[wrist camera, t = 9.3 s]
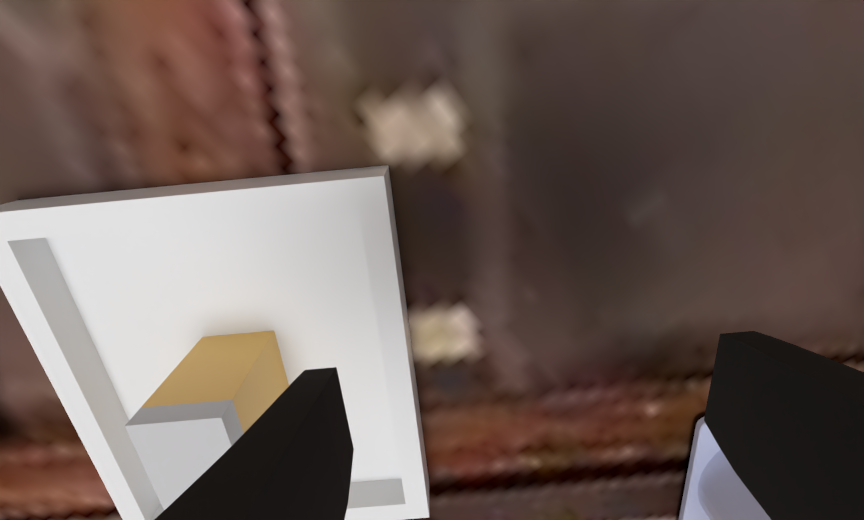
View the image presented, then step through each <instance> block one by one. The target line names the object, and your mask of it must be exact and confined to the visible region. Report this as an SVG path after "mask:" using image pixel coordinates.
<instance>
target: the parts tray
mask: <svg viewBox="0 0 864 520" xmlns="http://www.w3.org/2000/svg"><path fill="white" fill-rule="evenodd" d="M0 286H1V288H2V290H3V292H4V294H5V295H6V297H7V299H8V301H9V303H10V305H11V307H12V309H13V311H14V313H15V315H16V316H17V318H18V320H19V322H20V324H21V326H22V328H23V330H24V332H25V334H26V336H27V338H28V339H29V341H30V343H31V345H32V347H33V349H34V351H35V353H36V355H37V357H38V359H39V360H40V362H41V364H42V366H43V368H44V370H45V372H46V374H47V376H48V378H49V380H50V381H51V383H52V385H53V387H54V389H55V391H56V393H57V395H58V397H59V399H60V401H61V402H62V404H63V406H64V408H65V410H66V412H67V414H68V416H69V418H70V420H71V422H72V423H73V425H74V427H75V429H76V431H77V433H78V435H79V437H80V439H81V441H82V443H83V444H84V446H85V448H86V450H87V452H88V454H89V456H90V458H91V460H92V462H93V464H94V465H95V467H96V469H97V471H98V473H99V475H100V477H101V479H102V481H103V483H104V485H105V486H106V488H107V490H108V492H109V494H110V496H111V498H112V500H113V502H114V504H115V506H116V507H117V509H118V511H119V513H120V515H121V517H122V519H123V520H154V519H155V518H156V517H158V516H159V515H160V514H161V513H162V512H163V511H164V509H163V507H162V505H161V503H160V500H159V498H158V496H157V494H156V492H155V490H154V488H153V485H152V483H151V481H150V479H149V477H148V475H147V473H146V470H145V468H144V466H143V464H142V462H141V460H140V458H139V455H138V453H137V451H136V449H135V447H134V445H133V443H132V441H131V438H130V436H129V434H128V432H127V430H126V428H125V425H126V424H127V423H128V422H129V420H130V419H131V418H132V417H133V416H134V415H135V414H136V412H137V411H138V410H139V409H140V408H141V407H142V406H143V404H144V403H145V402H146V401H147V400H148V399H149V397H150V396H151V395H152V394H153V393H154V392H155V391H156V389H157V388H158V387H159V386H160V385H161V384H162V383H163V381H164V380H165V379H166V378H167V377H168V376H169V375H170V373H171V372H172V371H173V370H174V369H175V368H176V367H177V365H178V364H179V363H180V362H181V361H182V360H183V359H184V357H185V356H186V355H187V354H188V353H189V352H190V351H191V349H192V348H193V347H194V346H195V345H196V344H197V342H198V341H199V340H200V339H201V338H202V337H207V336H218V335H229V334H240V333H252V332H263V331H274V332H275V335H276V339H277V343H278V347H279V350H280V354H281V358H282V361H283V365H284V369H285V373H286V376H287V380H288V384H289V385H290V384H291V383H292V382H293V381H294V380H295V379H296V378H297V377H298V376H299V375H300V374H301V373H302V372H303V371H304V370H309V369H321V368H333V367H336V368H337V372H338V377H339V382H340V386H341V391H342V396H343V401H344V405H345V410H346V415H347V420H348V424H349V429H350V434H351V439H352V443H353V448H354V452H353V462H352V472H351V481H350V490H349V498H348V505H347V510H346V515H345V520H403V519H416V518H428V517H429V477H428V470H427V462H426V454H425V446H424V438H423V431H422V423H421V415H420V407H419V399H418V392H417V384H416V376H415V368H414V360H413V353H412V345H411V337H410V329H409V321H408V313H407V306H406V298H405V290H404V282H403V274H402V267H401V259H400V251H399V243H398V235H397V228H396V220H395V212H394V204H393V196H392V189H391V181H390V173H389V165H384V166H374V167H363V168H353V169H342V170H331V171H321V172H310V173H300V174H289V175H279V176H268V177H258V178H247V179H236V180H226V181H215V182H205V183H194V184H184V185H173V186H163V187H152V188H141V189H131V190H120V191H110V192H99V193H89V194H78V195H68V196H57V197H47V198H36V199H25V200H16V201H12V202H9V203H5V204H2V205H0Z"/></svg>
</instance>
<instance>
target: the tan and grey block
mask: <svg viewBox="0 0 864 520" xmlns="http://www.w3.org/2000/svg"><path fill="white" fill-rule="evenodd" d="M288 386H289V384H288V380H287V376H286V373H285V369H284V365H283V361H282V358H281V354H280V350H279V347H278V343H277V339H276V335H275V332H274V331H263V332H252V333H240V334H229V335H218V336H207V337H202V338H201V339H200V340H199V341H198V342H197V344H196V345H195V346H194V347H193V348H192V349H191V351H190V352H189V353H188V354H187V355H186V356H185V357H184V359H183V360H182V361H181V362H180V363H179V364H178V365H177V367H176V368H175V369H174V370H173V371H172V372H171V373H170V375H169V376H168V377H167V378H166V379H165V380H164V381H163V383H162V384H161V385H160V386H159V387H158V388H157V389H156V391H155V392H154V393H153V394H152V395H151V396H150V397H149V399H148V400H147V401H146V402H145V403H144V404H143V406H142V407H141V408H140V409H139V410H138V411H137V412H136V414H135V415H134V416H133V417H132V418H131V419H130V420H129V422H128V423H127V424H126V425H125V428H126V430H127V432H128V434H129V436H130V438H131V441H132V443H133V445H134V447H135V449H136V451H137V453H138V455H139V458H140V460H141V462H142V464H143V466H144V468H145V470H146V473H147V475H148V477H149V479H150V481H151V483H152V485H153V488H154V490H155V492H156V494H157V496H158V498H159V500H160V503H161V505H162V507H163V509H164V510H165V509H167V508H168V507H169V506H170V505H171V504H172V503H173V502H174V501H175V500H176V499H177V498H178V497H179V496H180V495H181V494H182V493H183V492H184V491H185V490H187V489H188V488H189V487H190V486H191V485H192V484H193V483H194V482H195V481H196V480H197V479H198V478H199V477H200V476H201V475H202V474H203V473H204V472H205V471H206V470H208V469H209V468H210V467H211V466H212V465H213V464H214V463H215V462H216V461H217V460H218V459H219V458H220V457H221V456H222V455H223V454H224V453H225V452H226V451H227V450H228V449H229V448H230V447H231V446H232V445H233V444H234V443H235V442H236V441H237V440H238V439H239V438H240V437H241V436H242V435H243V434H244V433H245V432H246V431H247V430H248V429H249V428H250V427H251V426H252V424H253V423H254V422H255V421H256V420H257V419H258V418H259V417H260V416H261V415H262V414H263V413H264V412H265V411H266V410H267V409H268V408H269V407H270V406H271V405H272V404H273V402H274V401H275V400H276V399H277V398H278V397H279V396H280V395H281V394H282V393H283V392H284V391H285V390H286V389H287V388H288Z"/></svg>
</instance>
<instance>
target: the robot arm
mask: <svg viewBox="0 0 864 520" xmlns="http://www.w3.org/2000/svg"><path fill="white" fill-rule="evenodd" d="M353 452H354V448H353V443H352V439H351V434H350V429H349V424H348V420H347V415H346V410H345V405H344V401H343V396H342V391H341V386H340V382H339V377H338V372H337V368H336V367H333V368H321V369H309V370H304V371H303V372H302V373H301V374H300V375H299V376H298V377H297V378H296V379H295V380H294V381H293V382H292V383H291V384H290V385H289V386H288V388H287V389H286V390H285V391H284V392H283V393H282V394H281V395H280V396H279V397H278V398H277V399H276V400H275V401H274V402H273V404H272V405H271V406H270V407H269V408H268V409H267V410H266V411H265V412H264V413H263V414H262V415H261V416H260V417H259V418H258V419H257V420H256V421H255V422H254V423H253V424H252V426H251V427H250V428H249V429H248V430H247V431H246V432H245V433H244V434H243V435H242V436H241V437H240V438H239V439H238V440H237V441H236V442H235V443H234V444H233V445H232V446H231V447H230V448H229V449H228V450H227V451H226V452H225V453H224V454H223V455H222V456H221V457H220V458H219V459H218V460H217V461H216V462H215V463H214V464H213V465H212V466H211V467H210V468H209V469H208V470H206V471H205V472H204V473H203V474H202V475H201V476H200V477H199V478H198V479H197V480H196V481H195V482H194V483H193V484H192V485H191V486H190V487H189V488H188V489H187V490H185V491H184V492H183V493H182V494H181V495H180V496H179V497H178V498H177V499H176V500H175V501H174V502H173V503H172V504H171V505H170V506H169V507H168V508H167V509H165V510H164V511H163V512H162V513H161V514H160V515H159V516H158V517H156V518H155V519H154V520H345V515H346V510H347V505H348V498H349V490H350V481H351V472H352V462H353ZM679 520H864V372H861V371H859V370H856V369H854V368H851V367H849V366H846V365H844V364H841V363H839V362H836V361H834V360H831V359H829V358H826V357H824V356H821V355H819V354H816V353H814V352H811V351H808V350H806V349H803V348H801V347H798V346H795V345H793V344H790V343H787V342H785V341H782V340H779V339H776V338H773V337H771V336H768V335H764V334H761V333H758V332H755V331H749V332H738V333H726V334H720V338H719V343H718V349H717V354H716V359H715V364H714V370H713V375H712V380H711V385H710V391H709V396H708V401H707V406H706V411H705V417H702V418H701V419H699V420H698V421H697V424H696V427H695V433H694V438H693V444H692V449H691V455H690V460H689V466H688V471H687V476H686V482H685V487H684V493H683V498H682V504H681V509H680V515H679Z"/></svg>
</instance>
